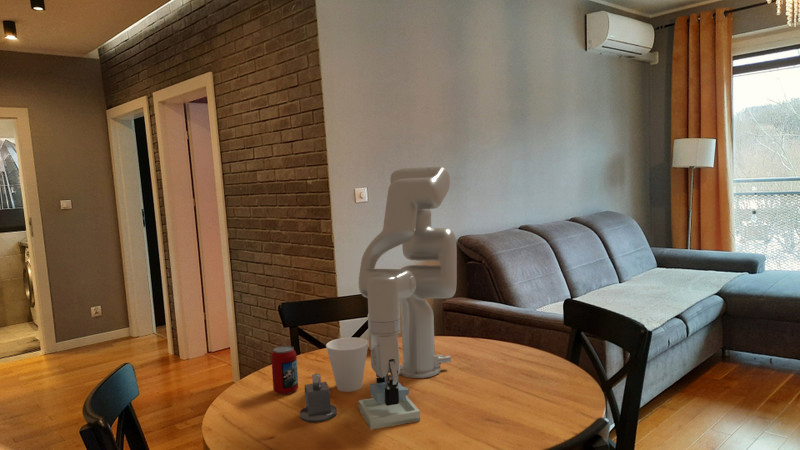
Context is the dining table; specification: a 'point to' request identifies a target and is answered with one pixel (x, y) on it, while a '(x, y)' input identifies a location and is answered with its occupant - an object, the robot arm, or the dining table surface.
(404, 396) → the blue-grey rectangular frame
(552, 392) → the dining table surface
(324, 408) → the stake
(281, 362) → the beverage can
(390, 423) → the tray
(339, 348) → the cup
